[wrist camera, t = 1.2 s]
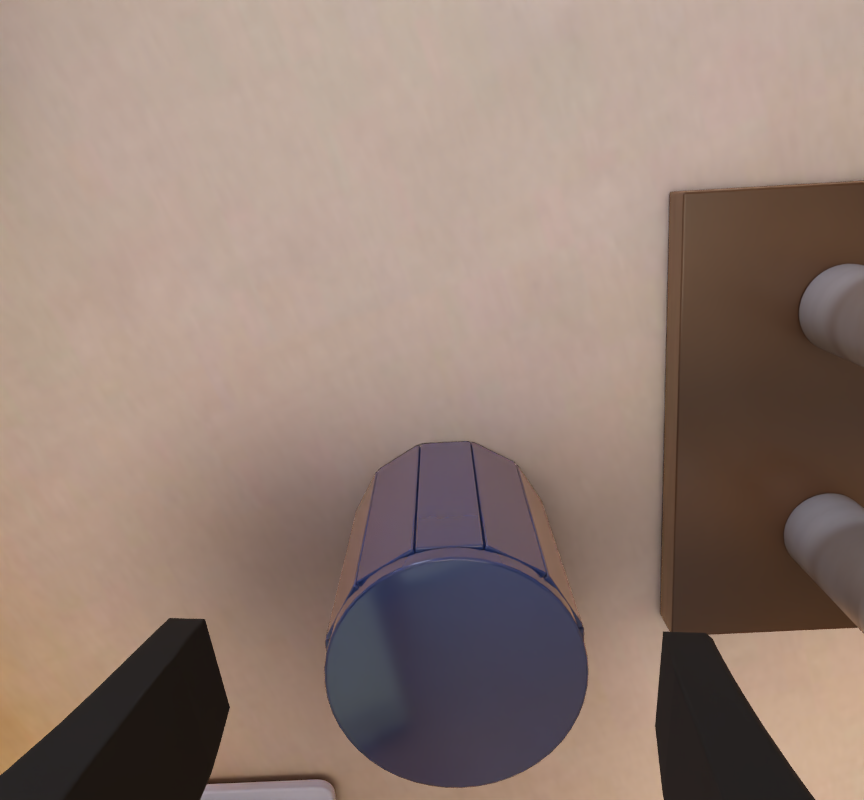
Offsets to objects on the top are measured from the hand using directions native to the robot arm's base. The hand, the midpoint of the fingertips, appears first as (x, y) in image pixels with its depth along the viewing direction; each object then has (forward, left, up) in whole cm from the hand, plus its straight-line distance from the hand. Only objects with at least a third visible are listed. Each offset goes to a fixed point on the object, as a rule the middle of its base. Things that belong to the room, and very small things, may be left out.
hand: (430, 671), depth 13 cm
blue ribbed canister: (-2, 0, -10) cm, 10 cm away
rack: (+1, -10, -10) cm, 14 cm away
